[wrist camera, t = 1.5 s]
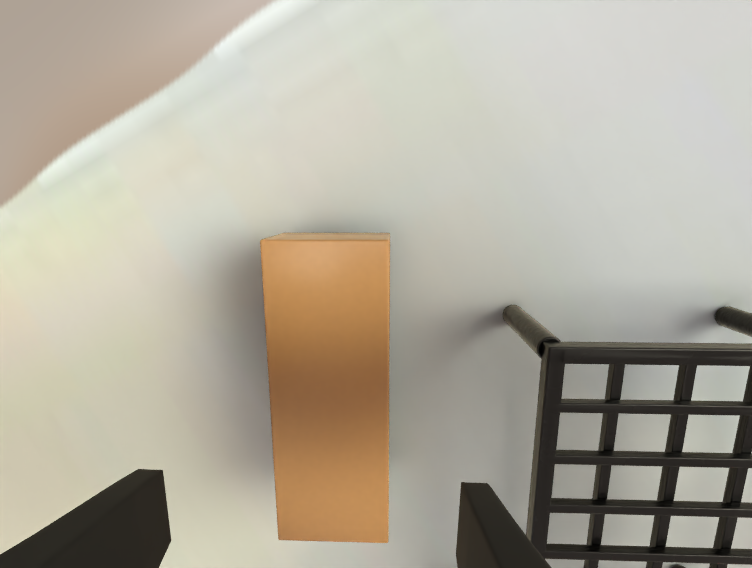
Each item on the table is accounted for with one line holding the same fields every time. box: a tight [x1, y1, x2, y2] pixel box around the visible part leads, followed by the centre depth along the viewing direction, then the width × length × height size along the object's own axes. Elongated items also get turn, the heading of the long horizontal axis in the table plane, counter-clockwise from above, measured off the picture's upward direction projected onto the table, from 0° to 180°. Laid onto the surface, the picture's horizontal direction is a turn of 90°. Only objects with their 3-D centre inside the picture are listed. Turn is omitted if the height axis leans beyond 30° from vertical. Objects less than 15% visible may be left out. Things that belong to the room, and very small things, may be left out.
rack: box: [503, 305, 752, 568], centre depth 17 cm, size 10×15×5 cm
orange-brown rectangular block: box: [260, 233, 390, 543], centre depth 17 cm, size 12×4×4 cm, turn 0°
